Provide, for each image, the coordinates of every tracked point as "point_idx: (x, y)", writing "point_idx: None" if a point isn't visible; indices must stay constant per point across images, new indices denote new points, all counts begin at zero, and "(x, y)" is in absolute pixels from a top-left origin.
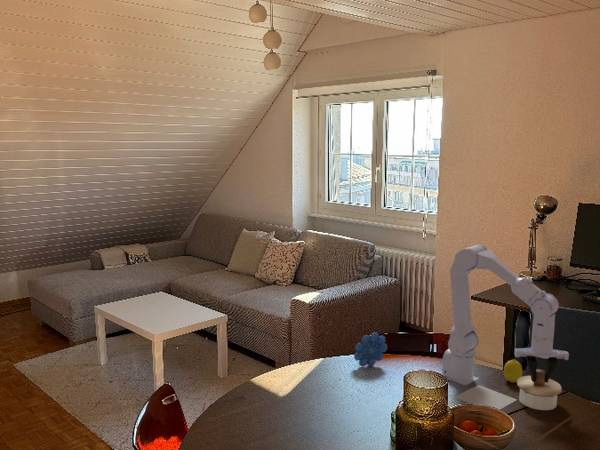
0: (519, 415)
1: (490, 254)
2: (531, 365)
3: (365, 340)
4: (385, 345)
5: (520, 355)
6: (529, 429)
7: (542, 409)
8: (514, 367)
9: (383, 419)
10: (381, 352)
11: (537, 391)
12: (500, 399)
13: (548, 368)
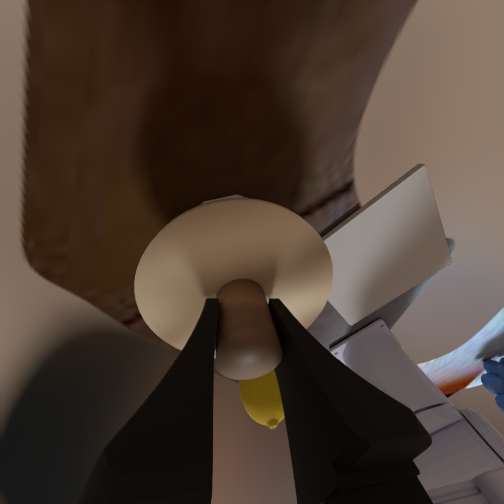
0: (333, 165)
1: None
2: (368, 388)
3: None
4: None
5: (475, 497)
6: (363, 24)
7: (242, 197)
8: (275, 392)
9: None
10: (500, 393)
11: (285, 224)
12: (343, 260)
13: (211, 381)
